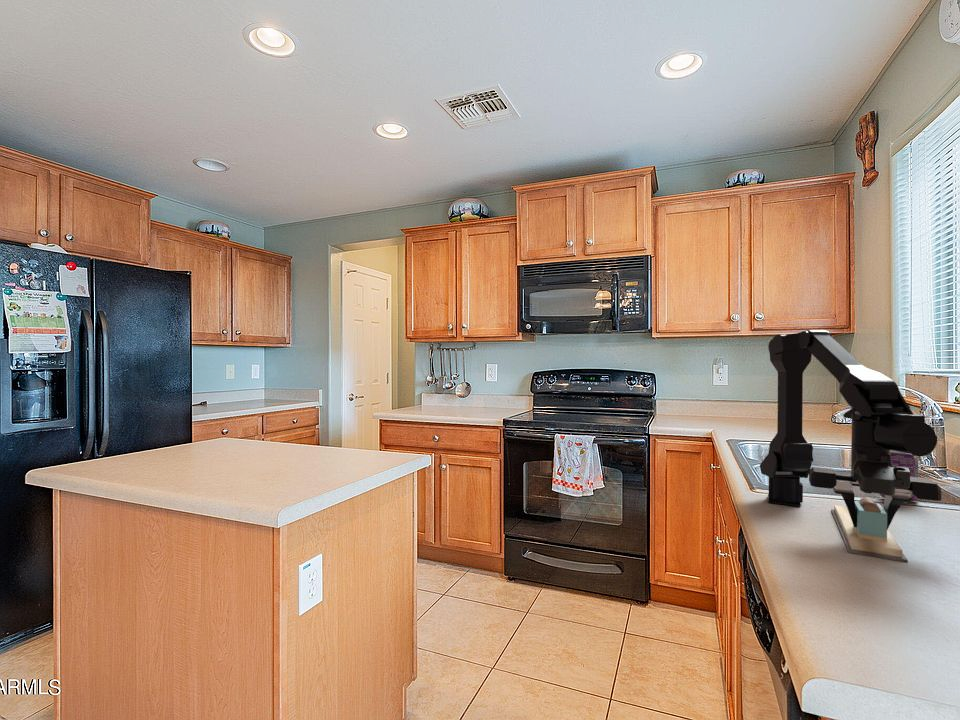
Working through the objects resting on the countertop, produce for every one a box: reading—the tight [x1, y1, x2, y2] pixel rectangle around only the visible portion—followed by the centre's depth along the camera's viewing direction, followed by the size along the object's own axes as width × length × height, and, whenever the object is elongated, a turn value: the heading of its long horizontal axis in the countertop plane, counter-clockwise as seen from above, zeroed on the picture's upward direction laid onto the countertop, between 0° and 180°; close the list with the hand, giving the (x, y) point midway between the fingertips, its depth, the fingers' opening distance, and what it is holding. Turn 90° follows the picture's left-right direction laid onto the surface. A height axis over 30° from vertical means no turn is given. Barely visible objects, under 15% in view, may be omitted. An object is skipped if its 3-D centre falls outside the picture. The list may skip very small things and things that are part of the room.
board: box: [831, 504, 908, 563], centre depth 97 cm, size 8×27×2 cm, turn 150°
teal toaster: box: [853, 496, 887, 542], centre depth 92 cm, size 4×7×6 cm, turn 150°
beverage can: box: [878, 450, 919, 503], centre depth 119 cm, size 7×7×12 cm
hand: (869, 528), depth 91 cm, fingers closed on teal toaster, 4 cm apart
